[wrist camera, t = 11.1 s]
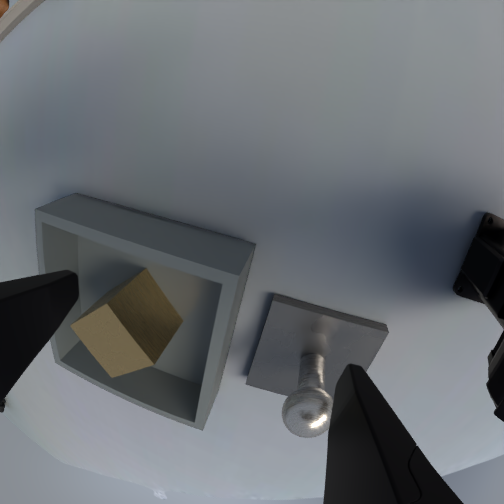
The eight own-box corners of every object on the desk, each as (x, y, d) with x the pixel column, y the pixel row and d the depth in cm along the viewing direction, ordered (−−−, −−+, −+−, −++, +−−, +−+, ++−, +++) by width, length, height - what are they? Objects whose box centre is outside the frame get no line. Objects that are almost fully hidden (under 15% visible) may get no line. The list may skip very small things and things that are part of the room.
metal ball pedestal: (386, 324, 22) (405, 401, 15) (342, 400, 26) (341, 472, 18) (274, 293, 23) (254, 367, 16) (247, 376, 27) (225, 448, 19)
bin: (255, 244, 22) (239, 276, 17) (218, 391, 28) (202, 430, 24) (76, 193, 23) (34, 209, 19) (82, 335, 29) (55, 362, 25)
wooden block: (146, 267, 24) (106, 303, 18) (183, 320, 25) (154, 364, 20) (107, 291, 25) (69, 325, 20) (142, 338, 27) (111, 377, 21)
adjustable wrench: (-30, 82, 22) (-41, 83, 20) (-29, 41, 19) (-39, 41, 18) (120, -32, 15) (108, -38, 14) (120, -75, 13) (110, -82, 12)
